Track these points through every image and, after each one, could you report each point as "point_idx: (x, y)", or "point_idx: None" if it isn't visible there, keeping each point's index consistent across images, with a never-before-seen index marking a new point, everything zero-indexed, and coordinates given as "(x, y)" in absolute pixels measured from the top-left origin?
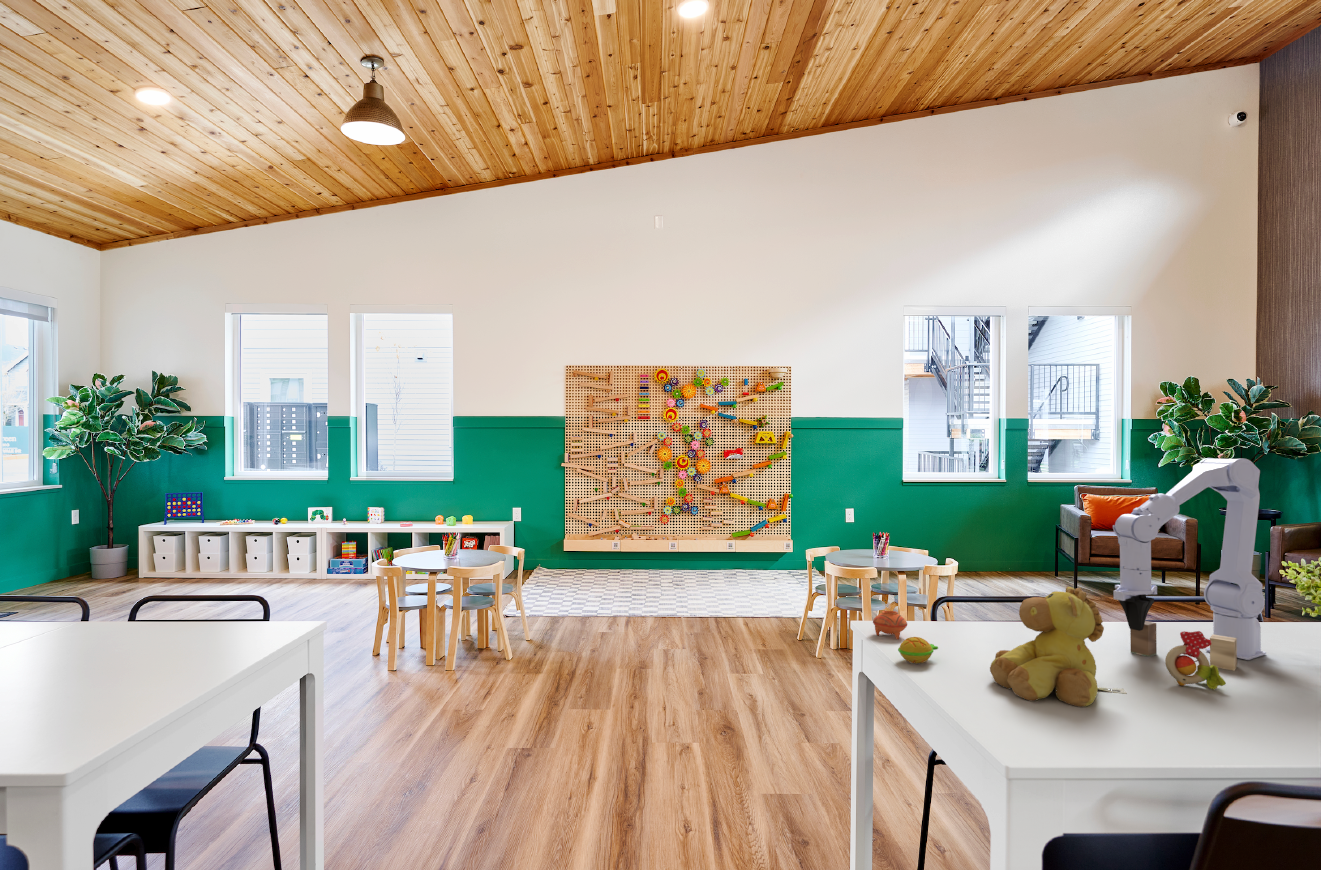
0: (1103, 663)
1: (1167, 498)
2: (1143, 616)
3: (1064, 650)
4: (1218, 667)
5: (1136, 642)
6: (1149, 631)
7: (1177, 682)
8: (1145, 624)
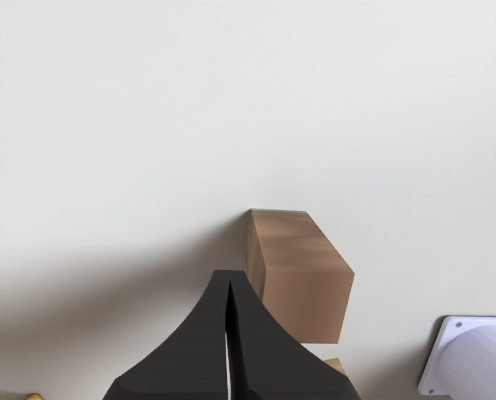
0: (17, 217)
1: None
2: (230, 379)
3: None
4: None
5: (252, 245)
6: None
7: (27, 398)
8: None
